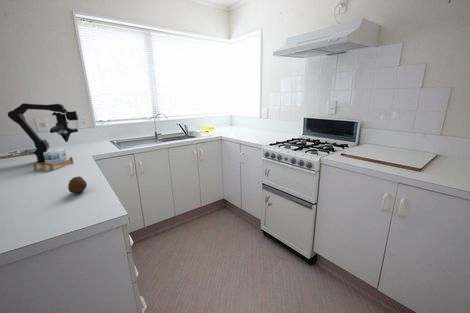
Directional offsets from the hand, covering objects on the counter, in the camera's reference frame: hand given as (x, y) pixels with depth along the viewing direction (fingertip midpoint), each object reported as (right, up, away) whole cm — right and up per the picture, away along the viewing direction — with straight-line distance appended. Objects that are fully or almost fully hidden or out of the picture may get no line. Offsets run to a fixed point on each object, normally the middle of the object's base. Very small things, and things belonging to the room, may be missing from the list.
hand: (66, 141), depth 169 cm
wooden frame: (+6, -18, -18) cm, 26 cm away
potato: (+52, -29, -61) cm, 85 cm away
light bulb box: (+6, -18, -15) cm, 24 cm away
